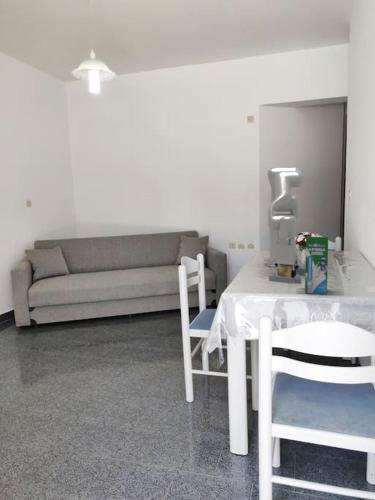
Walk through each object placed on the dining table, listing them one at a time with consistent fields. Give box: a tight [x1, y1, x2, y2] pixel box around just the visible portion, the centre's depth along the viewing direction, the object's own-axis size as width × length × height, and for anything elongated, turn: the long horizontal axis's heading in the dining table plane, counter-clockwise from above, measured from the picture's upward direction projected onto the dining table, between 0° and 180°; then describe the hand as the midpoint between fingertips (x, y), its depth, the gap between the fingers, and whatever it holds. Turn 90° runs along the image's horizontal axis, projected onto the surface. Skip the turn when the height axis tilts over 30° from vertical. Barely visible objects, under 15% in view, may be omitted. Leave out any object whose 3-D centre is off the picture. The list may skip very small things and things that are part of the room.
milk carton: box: [304, 235, 329, 295], centre depth 170 cm, size 9×9×25 cm
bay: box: [268, 267, 305, 285], centre depth 193 cm, size 15×20×5 cm
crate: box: [278, 264, 294, 279], centre depth 192 cm, size 6×6×7 cm
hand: (286, 276), depth 193 cm, fingers closed on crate, 6 cm apart
